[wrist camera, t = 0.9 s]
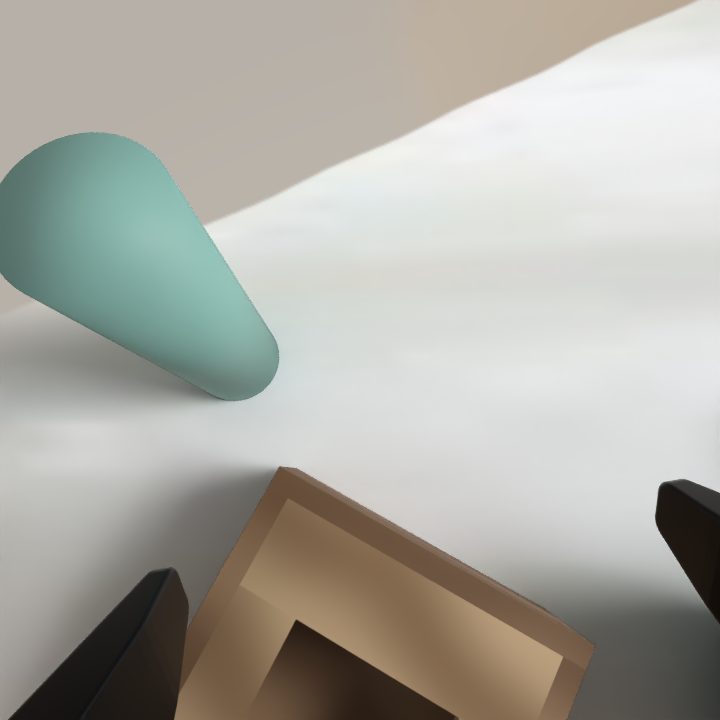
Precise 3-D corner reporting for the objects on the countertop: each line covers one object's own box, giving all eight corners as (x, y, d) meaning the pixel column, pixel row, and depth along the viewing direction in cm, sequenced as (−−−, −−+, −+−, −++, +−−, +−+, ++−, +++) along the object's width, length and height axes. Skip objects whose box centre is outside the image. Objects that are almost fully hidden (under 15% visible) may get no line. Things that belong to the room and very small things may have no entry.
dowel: (250, 416, 22) (105, 338, 10) (177, 375, 23) (-54, 250, 10) (294, 341, 23) (213, 180, 11) (222, 303, 24) (61, 104, 11)
